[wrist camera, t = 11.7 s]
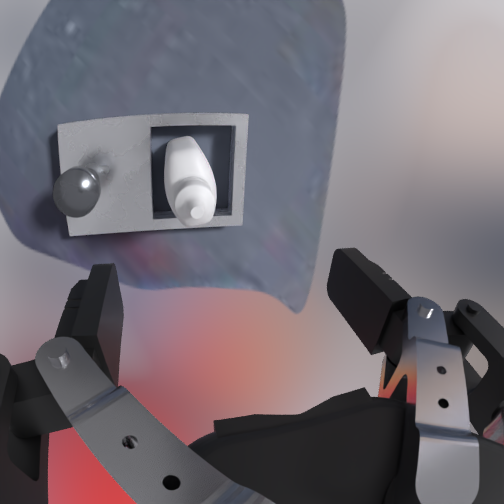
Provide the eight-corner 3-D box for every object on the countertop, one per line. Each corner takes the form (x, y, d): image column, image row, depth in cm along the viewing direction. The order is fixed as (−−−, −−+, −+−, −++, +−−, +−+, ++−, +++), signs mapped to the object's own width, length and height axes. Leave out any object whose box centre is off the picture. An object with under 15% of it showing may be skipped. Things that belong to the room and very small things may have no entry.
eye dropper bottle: (153, 189, 27) (145, 249, 17) (171, 130, 25) (173, 151, 14) (198, 201, 28) (218, 266, 18) (218, 144, 26) (253, 175, 16)
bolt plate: (64, 122, 22) (38, 130, 16) (243, 113, 26) (263, 117, 20) (75, 227, 26) (56, 258, 21) (237, 217, 30) (254, 245, 25)
